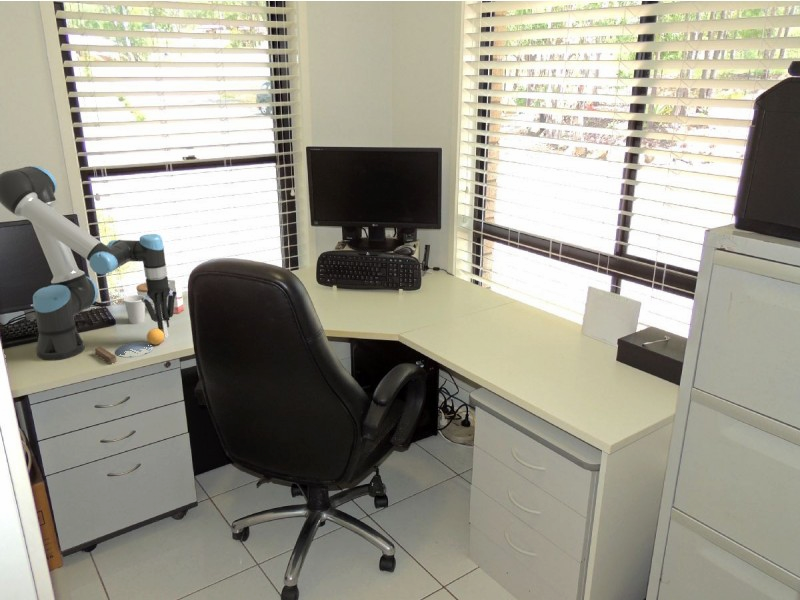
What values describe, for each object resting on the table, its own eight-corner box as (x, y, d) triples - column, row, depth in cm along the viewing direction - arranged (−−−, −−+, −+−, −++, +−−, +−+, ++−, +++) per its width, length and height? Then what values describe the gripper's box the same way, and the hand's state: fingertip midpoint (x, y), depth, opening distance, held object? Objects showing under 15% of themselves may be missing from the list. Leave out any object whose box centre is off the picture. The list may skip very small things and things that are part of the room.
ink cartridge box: (184, 309, 267) (181, 277, 262) (178, 313, 262) (175, 280, 257) (166, 308, 268) (162, 275, 263) (160, 312, 263) (156, 279, 258)
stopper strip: (110, 364, 215) (110, 357, 214) (95, 354, 223) (94, 347, 222) (116, 362, 216) (115, 356, 216) (101, 352, 224) (100, 346, 223)
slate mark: (125, 360, 218) (125, 360, 218) (108, 349, 226) (108, 349, 226) (160, 349, 228) (160, 349, 227) (143, 339, 236) (143, 339, 236)
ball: (156, 350, 230) (148, 338, 226) (149, 344, 234) (141, 333, 230) (169, 340, 233) (162, 328, 229) (162, 334, 237) (155, 323, 233)
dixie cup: (123, 320, 254) (120, 297, 250) (144, 316, 259) (142, 293, 255) (129, 326, 248) (126, 303, 244) (151, 322, 252) (148, 299, 249)
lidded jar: (164, 297, 281) (161, 277, 278) (164, 305, 271) (162, 284, 268) (138, 299, 277) (136, 279, 274) (138, 307, 268) (135, 287, 265)
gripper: (167, 270, 233) (175, 328, 241) (134, 278, 224) (143, 338, 232) (178, 274, 229) (185, 333, 237) (144, 283, 219) (153, 344, 228)
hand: (164, 336), depth 234 cm, fingers closed
